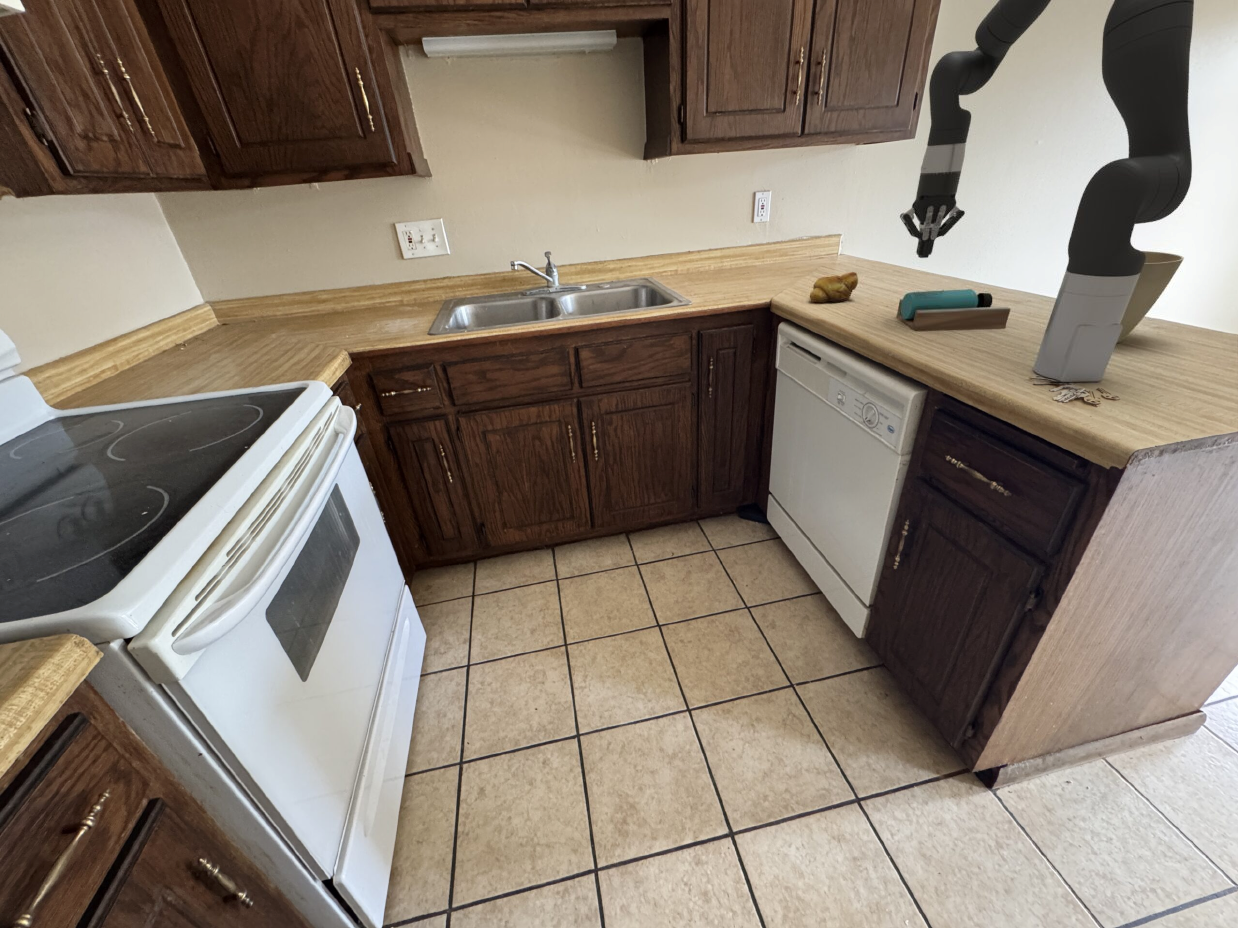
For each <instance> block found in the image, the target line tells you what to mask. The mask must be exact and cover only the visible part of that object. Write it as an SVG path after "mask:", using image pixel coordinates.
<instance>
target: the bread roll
mask: <svg viewBox="0 0 1238 928" xmlns="http://www.w3.org/2000/svg"><path fill="white" fill-rule="evenodd" d="M858 282H859V277H858V273H856V272H855V271H852V272H848V273H843V274H841V275H838V274H837V275H830V276H821V277H818V279H816V280H815V282H814V283H813V285H812V286H813V287H812V290H811V292H810V293H809V299H810V300H811V301H812V302H814V303H823V304H824V303H828V302H832V303H840V302H845V301H847V300H849V298H850V297H851V296H852V293H853V291H855V290H856V288H857V286H858Z"/></svg>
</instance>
